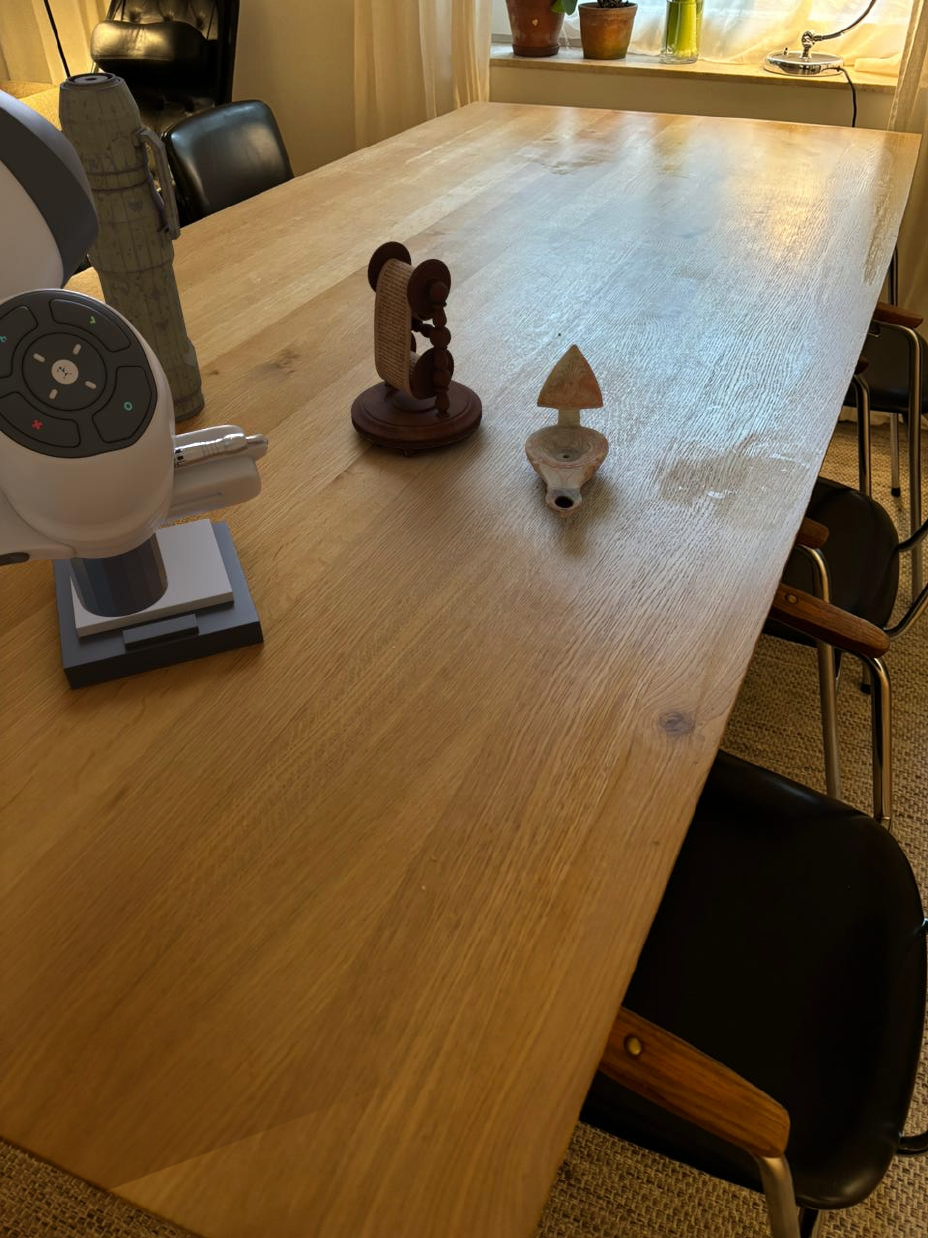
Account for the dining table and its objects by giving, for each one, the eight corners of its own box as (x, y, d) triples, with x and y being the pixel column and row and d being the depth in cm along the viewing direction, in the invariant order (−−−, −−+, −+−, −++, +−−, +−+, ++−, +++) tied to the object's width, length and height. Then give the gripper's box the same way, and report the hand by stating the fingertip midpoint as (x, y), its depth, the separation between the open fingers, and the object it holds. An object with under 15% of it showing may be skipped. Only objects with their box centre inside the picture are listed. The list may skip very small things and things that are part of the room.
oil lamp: (607, 428, 112) (614, 344, 105) (605, 538, 96) (613, 448, 89) (530, 425, 113) (533, 342, 106) (515, 533, 97) (517, 443, 90)
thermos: (130, 388, 121) (47, 67, 99) (225, 389, 121) (163, 66, 98) (106, 424, 115) (11, 89, 92) (206, 425, 114) (136, 88, 91)
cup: (82, 626, 68) (44, 517, 62) (76, 574, 72) (40, 469, 67) (174, 605, 70) (144, 497, 64) (162, 555, 74) (134, 450, 68)
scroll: (327, 424, 114) (306, 249, 101) (427, 384, 121) (420, 215, 108) (405, 476, 105) (393, 291, 92) (509, 429, 112) (511, 252, 99)
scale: (71, 690, 81) (59, 659, 79) (59, 578, 93) (49, 549, 90) (264, 642, 85) (258, 611, 83) (230, 540, 97) (224, 511, 95)
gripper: (254, 381, 58) (237, 449, 72) (-123, 465, 52) (-66, 523, 65) (288, 482, 58) (265, 532, 71) (-87, 579, 52) (-37, 614, 65)
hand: (104, 529), depth 68 cm, fingers closed on cup, 6 cm apart
